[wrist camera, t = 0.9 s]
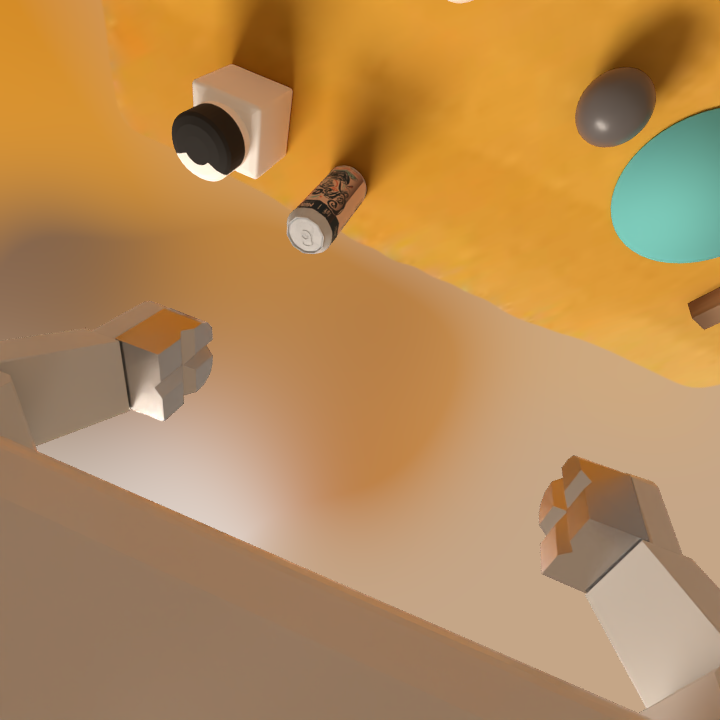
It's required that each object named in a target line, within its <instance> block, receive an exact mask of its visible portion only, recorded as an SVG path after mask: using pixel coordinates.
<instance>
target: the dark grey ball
mask: <svg viewBox="0 0 720 720" xmlns="http://www.w3.org/2000/svg"><path fill="white" fill-rule="evenodd" d="M655 102H656V93H655V87H654V84H653V82H652V80H651V79H650V78H649V76H648V75H646V74H645V73H644V72H642V71H641V70H639V69H636V68H631V67H621V68H616V69H612V70H610V71H607V72H605V73H603V74H602V75H600V76H599V77H597V78H596V79H595V80H594V81H593V82H592V83H591V84H590V85H589V86H588V87H587V88H586V89H585V91H584V92H583V94H582V96H581V97H580V100H579V102H578V105H577V109H576V115H575V120H576V126H577V129H578V132H579V134H580V135H581V137H582V138H583V139H584V140H585V141H587V142H588V143H590V144H592V145H594V146H598V147H613V146H617V145H620V144H623V143H625V142H627V141H629V140H630V139H632V138H633V137H634V136H636V135H637V134H638V133H639V132H640V131H641V130H642V129H643V128H644V127H645V125H646V124H647V123H648V121H649V119H650V118H651V115H652V113H653V110H654V107H655Z"/></svg>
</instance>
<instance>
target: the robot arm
mask: <svg viewBox="0 0 720 720" xmlns="http://www.w3.org/2000/svg"><path fill="white" fill-rule="evenodd" d="M210 341H212V327H211V326H210V325H209V324H208V323H207V322H205V321H202V320H200V319H197V318H195V317H192V316H189V315H187V314H184V313H181V312H179V311H176V310H174V309H171V308H168V307H166V306H163V305H160V304H157V303H155V302H152V301H145V302H143V303H141V304H139V305H137V306H135V307H134V308H132V309H130V310H129V311H126V312H125V313H123V314H121V315H119V316H118V317H116V318H114V319H112V320H110V321H108V322H106V323H105V324H103V325H101V326H99V327H97V328H96V329H94V330H89V329H86V328H85V329H78V330H71V331H64V332H57V333H50V334H43V335H36V336H29V337H22V338H15V339H8V340H1V341H0V720H720V589H719V588H718V587H717V586H716V585H715V583H714V582H713V581H712V580H711V579H710V578H709V577H708V576H707V575H706V574H705V573H704V571H703V570H701V568H700V567H699V566H698V565H697V564H696V563H695V562H694V561H693V560H692V559H691V558H688V557H686V556H683V554H682V552H681V549H680V546H679V544H678V541H677V538H676V535H675V532H674V530H673V527H672V524H671V521H670V518H669V515H668V513H667V510H666V507H665V504H664V502H663V499H662V496H661V493H660V490H659V488H658V486H657V485H656V484H655V483H653V482H652V481H649V480H646V479H643V478H640V477H637V476H634V475H631V474H628V473H623V472H620V471H617V470H614V469H611V468H609V467H606V466H603V465H600V464H597V463H594V462H591V461H589V460H586V459H583V458H580V457H578V456H575V455H573V456H572V457H570V458H569V459H568V460H567V461H566V462H565V464H564V465H563V467H562V476H563V478H561V479H558V480H555V481H552V482H551V483H550V485H549V486H548V488H547V489H546V491H545V493H544V495H543V499H542V501H541V504H540V510H539V525H540V527H541V529H542V530H543V532H544V533H545V534H546V537H545V538H544V539H543V541H542V542H541V543H540V553H541V569H542V570H541V572H542V574H543V575H545V576H547V577H550V578H552V579H554V580H556V581H559V582H561V583H563V584H566V585H568V586H570V587H573V588H575V589H577V590H580V591H582V592H584V593H587V594H586V595H585V596H586V598H587V600H588V601H589V603H590V605H591V607H592V609H593V611H594V613H595V614H596V616H597V618H598V620H599V622H600V623H601V625H602V627H603V629H604V631H605V633H606V635H607V636H608V638H609V640H610V642H611V644H612V646H613V648H614V649H615V651H616V653H617V655H618V657H619V659H620V661H621V662H622V664H623V666H624V668H625V670H626V671H627V673H628V675H629V677H630V679H631V681H632V683H633V685H634V686H635V688H636V690H637V692H638V694H639V696H640V697H641V699H642V701H643V703H644V705H645V706H646V709H645V710H643V711H641V712H639V713H637V712H635V711H632V710H630V709H627V708H625V707H623V706H621V705H618V704H616V703H614V702H611V701H609V700H607V699H604V698H602V697H600V696H598V695H595V694H593V693H591V692H589V691H586V690H584V689H581V688H580V687H577V686H575V685H573V684H570V683H568V682H566V681H563V680H561V679H559V678H557V677H554V676H552V675H550V674H547V673H545V672H543V671H541V670H538V669H536V668H533V667H531V666H529V665H527V664H524V663H522V662H520V661H518V660H515V659H513V658H511V657H508V656H506V655H504V654H502V653H499V652H497V651H494V650H492V649H490V648H488V647H485V646H483V645H481V644H478V643H476V642H474V641H472V640H469V639H467V638H465V637H462V636H460V635H458V634H455V633H453V632H451V631H449V630H446V629H444V628H442V627H439V626H437V625H435V624H432V623H430V622H428V621H426V620H423V619H421V618H419V617H416V616H414V615H412V614H409V613H407V612H405V611H403V610H400V609H398V608H395V607H393V606H391V605H389V604H386V603H384V602H381V601H380V600H377V599H375V598H372V597H370V596H368V595H366V594H363V593H361V592H359V591H356V590H354V589H352V588H349V587H347V586H345V585H343V584H340V583H338V582H336V581H333V580H331V579H329V578H327V577H324V576H322V575H319V574H317V573H315V572H313V571H310V570H308V569H306V568H304V567H301V566H299V565H297V564H294V563H292V562H290V561H288V560H285V559H283V558H281V557H278V556H276V555H274V554H272V553H269V552H267V551H265V550H262V549H260V548H258V547H256V546H253V545H251V544H249V543H246V542H244V541H242V540H240V539H237V538H235V537H232V536H230V535H228V534H226V533H224V532H221V531H219V530H217V529H214V528H212V527H210V526H208V525H205V524H203V523H201V522H198V521H196V520H194V519H192V518H189V517H187V516H184V515H182V514H180V513H178V512H175V511H173V510H171V509H169V508H166V507H164V506H162V505H159V504H157V503H155V502H153V501H150V500H148V499H146V498H143V497H141V496H139V495H137V494H134V493H132V492H130V491H127V490H125V489H123V488H120V487H118V486H116V485H114V484H111V483H109V482H107V481H104V480H102V479H100V478H97V477H95V476H93V475H91V474H88V473H86V472H84V471H81V470H79V469H77V468H75V467H72V466H70V465H67V464H65V463H63V462H61V461H58V460H56V459H54V458H52V457H49V456H47V455H45V454H42V453H40V452H38V451H37V449H36V446H38V445H40V444H43V443H46V442H48V441H51V440H54V439H56V438H59V437H62V436H64V435H67V434H70V433H72V432H75V431H78V430H80V429H83V428H85V427H88V426H91V425H93V424H96V423H98V422H101V421H104V420H107V419H110V418H112V417H115V416H117V415H120V414H123V413H125V412H128V411H130V409H132V410H135V411H137V412H140V413H142V414H145V415H148V416H151V417H153V418H156V419H159V420H161V421H165V420H166V419H168V418H169V417H170V416H171V415H172V414H173V413H174V412H175V411H176V410H177V409H179V407H181V406H182V405H183V404H184V395H187V394H191V393H194V392H197V391H198V390H199V389H200V388H201V387H202V386H203V385H204V383H205V382H206V380H207V378H208V376H209V375H210V372H211V368H212V358H213V355H212V354H211V352H210V350H209V349H208V347H207V344H208V343H209V342H210Z"/></svg>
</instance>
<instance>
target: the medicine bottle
mask: <svg viewBox="0 0 720 720" xmlns="http://www.w3.org/2000/svg"><path fill="white" fill-rule="evenodd" d="M192 84H193V103H194V107H193V108H191V109H189V110H187V111H185V112H183V113H181V114H179V115H178V116H177V117H176V119H175V120H174V123H173V126H172V140H173V144H174V148H175V150H176V153H177V154H178V156H179V158H180V159H181V161H182V163H183V164H184V165H185V166H186V167H187V168H188V169H189V170H190V171H191V172H192V173H193V174H195V175H197V176H198V177H200V178H202V179H205V180H208V181H219V180H221V179H223V178H224V177H226V176H227V175H229V174H230V173H231V172H233V171H234V170H235V171H237V172H239V173H242V174H244V175H246V176H249V177H251V178H254V179H257V178H259V177H260V176H261V175H262V174H264V173H265V172H266V171H267V170H268V169H270V168H271V167H272V166H273V165H274V164H276V163H277V162H278V161H279V160H281V159H282V158H283V157H284V156H285V155H286V149H287V140H288V131H289V122H290V113H291V104H292V95H293V91H292V89H291V88H289V87H287V86H284V85H282V84H280V83H277V82H275V81H272V80H270V79H268V78H265V77H263V76H260V75H258V74H255V73H253V72H251V71H248V70H246V69H243V68H241V67H239V66H236V65H234V64H230V65H228V66H226V67H223V68H221V69H218V70H216V71H214V72H211V73H209V74H207V75H204V76H202V77H200V78H197V79H195V80H194V81H193V83H192Z"/></svg>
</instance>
